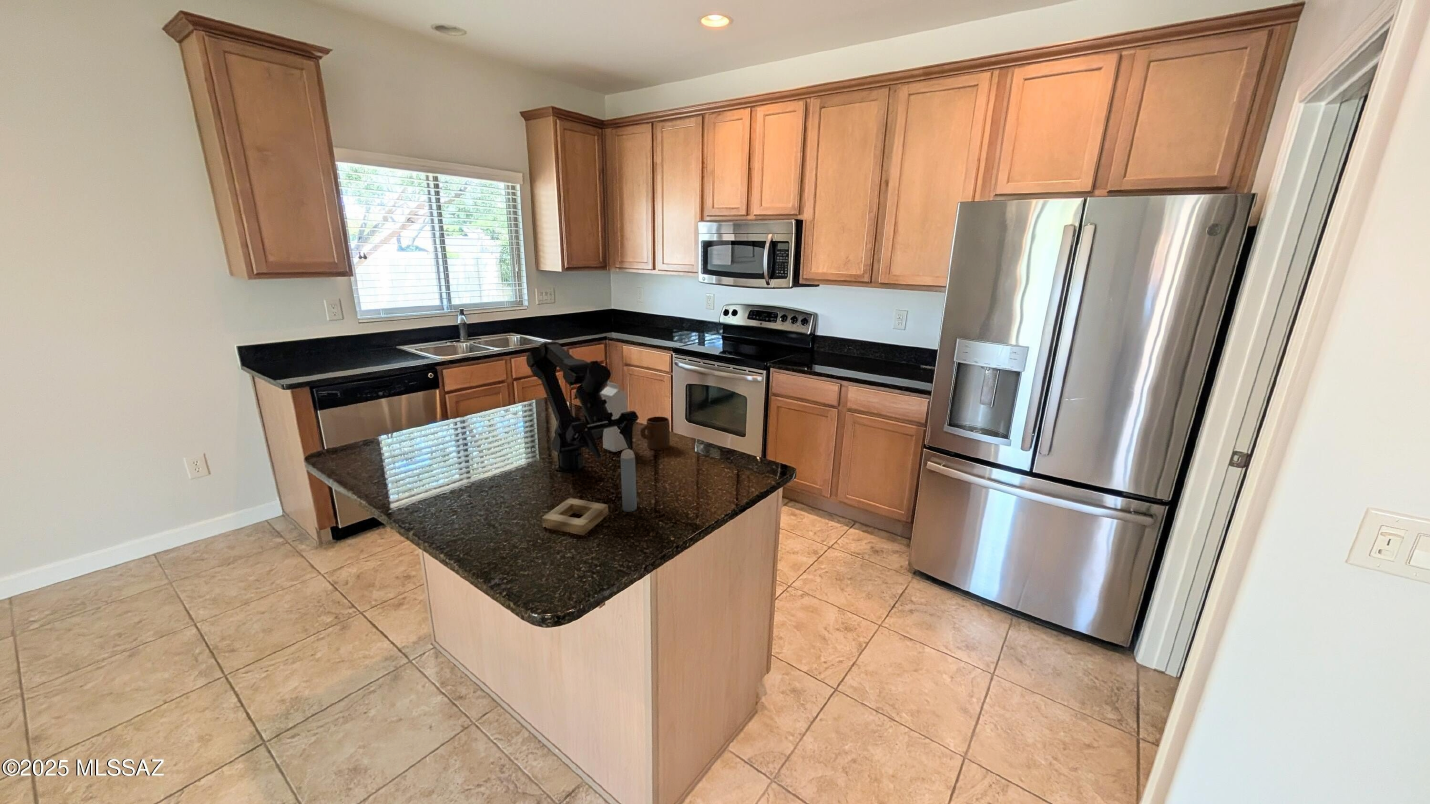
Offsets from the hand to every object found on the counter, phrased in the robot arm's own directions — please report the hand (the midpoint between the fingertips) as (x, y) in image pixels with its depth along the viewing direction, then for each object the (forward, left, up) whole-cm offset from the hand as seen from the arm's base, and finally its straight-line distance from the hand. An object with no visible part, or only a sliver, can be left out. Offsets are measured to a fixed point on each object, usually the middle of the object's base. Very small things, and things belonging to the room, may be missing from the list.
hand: (615, 454), depth 134 cm
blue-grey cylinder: (+5, -3, -13) cm, 14 cm away
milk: (-20, +34, -13) cm, 42 cm away
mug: (-8, +38, -13) cm, 41 cm away
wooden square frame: (-4, -13, -13) cm, 19 cm away
